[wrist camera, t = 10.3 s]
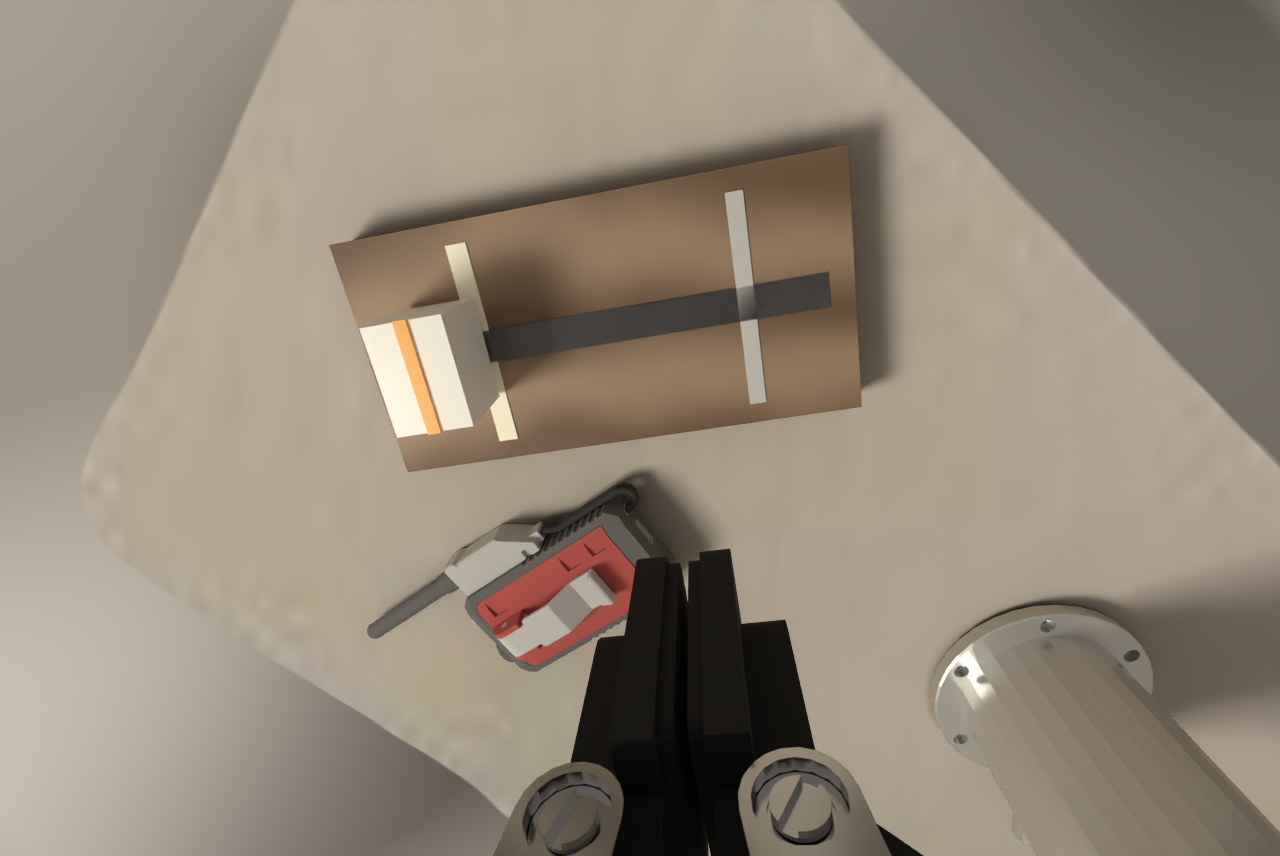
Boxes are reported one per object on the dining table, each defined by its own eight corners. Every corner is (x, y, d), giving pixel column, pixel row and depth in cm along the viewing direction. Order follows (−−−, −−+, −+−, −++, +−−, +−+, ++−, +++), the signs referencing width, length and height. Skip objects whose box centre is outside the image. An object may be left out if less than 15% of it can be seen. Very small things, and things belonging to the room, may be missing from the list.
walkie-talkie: (609, 445, 34) (368, 608, 39) (599, 479, 30) (332, 657, 35) (698, 554, 36) (459, 695, 42) (700, 600, 32) (435, 750, 38)
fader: (500, 397, 30) (473, 428, 26) (433, 407, 31) (396, 439, 27) (472, 296, 29) (439, 313, 25) (401, 309, 29) (357, 327, 25)
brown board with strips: (850, 394, 32) (861, 406, 30) (422, 456, 35) (407, 472, 33) (836, 147, 28) (848, 144, 26) (350, 241, 30) (328, 245, 28)
